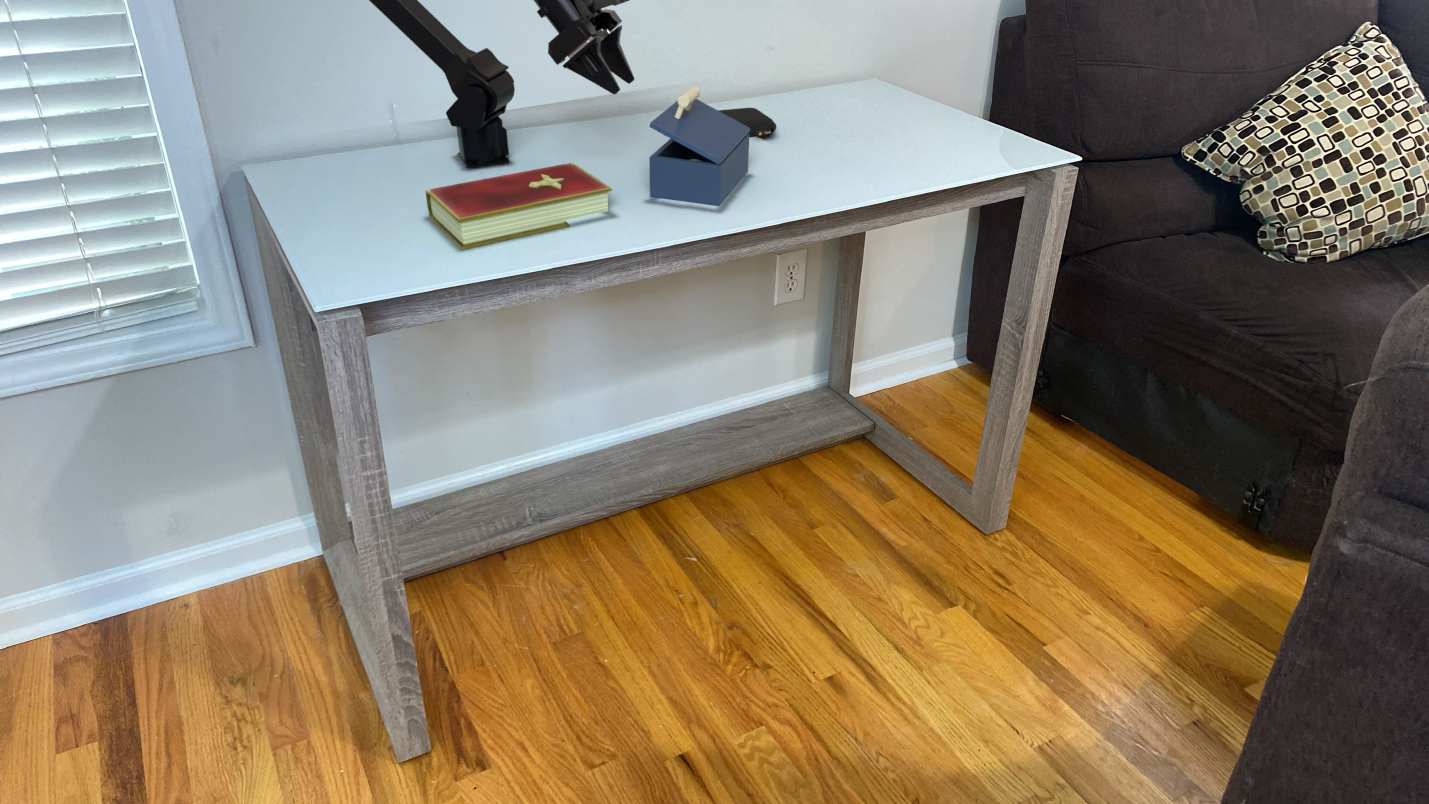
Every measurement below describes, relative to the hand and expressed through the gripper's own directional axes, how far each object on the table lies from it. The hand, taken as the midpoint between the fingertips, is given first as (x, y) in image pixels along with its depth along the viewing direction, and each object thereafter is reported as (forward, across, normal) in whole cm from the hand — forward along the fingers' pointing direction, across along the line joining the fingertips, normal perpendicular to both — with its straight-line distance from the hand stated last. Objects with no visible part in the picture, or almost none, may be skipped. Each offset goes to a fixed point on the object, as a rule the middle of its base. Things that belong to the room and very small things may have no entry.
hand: (625, 86), depth 135 cm
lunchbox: (+17, -1, 0) cm, 17 cm away
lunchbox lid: (+11, -2, -6) cm, 12 cm away
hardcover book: (+5, -16, +18) cm, 24 cm away
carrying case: (+16, +24, -2) cm, 29 cm away
